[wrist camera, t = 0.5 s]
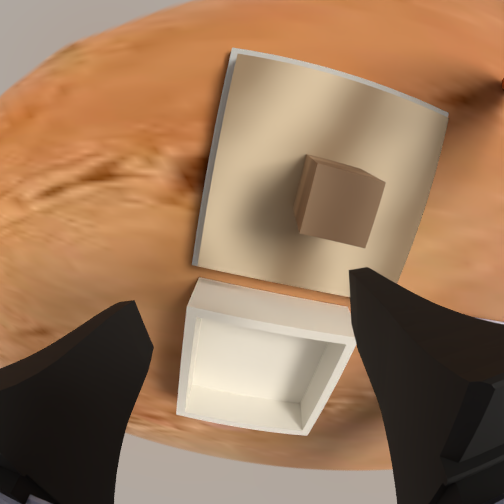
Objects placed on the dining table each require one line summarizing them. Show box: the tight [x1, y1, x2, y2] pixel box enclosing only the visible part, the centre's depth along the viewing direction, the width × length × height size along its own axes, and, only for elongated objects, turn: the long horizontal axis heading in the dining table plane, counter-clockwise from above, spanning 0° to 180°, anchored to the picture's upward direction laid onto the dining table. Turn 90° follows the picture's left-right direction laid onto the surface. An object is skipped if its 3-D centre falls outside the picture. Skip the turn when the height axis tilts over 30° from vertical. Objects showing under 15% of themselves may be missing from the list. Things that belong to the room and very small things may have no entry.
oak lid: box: [198, 54, 449, 297], centre depth 15 cm, size 12×12×5 cm
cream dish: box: [176, 277, 356, 436], centre depth 21 cm, size 10×10×4 cm
